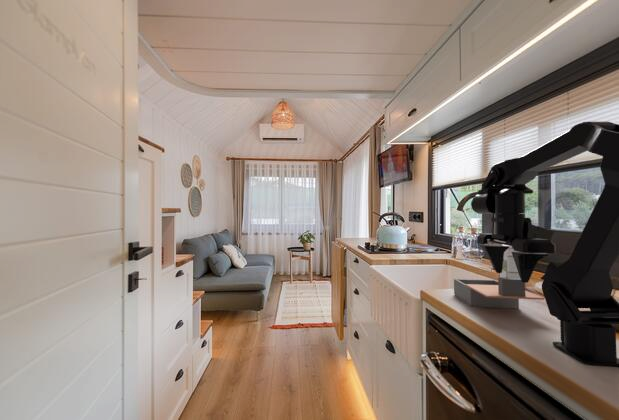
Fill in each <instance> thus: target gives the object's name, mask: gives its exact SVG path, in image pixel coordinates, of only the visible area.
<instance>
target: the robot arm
mask: <svg viewBox="0 0 619 420" xmlns="http://www.w3.org/2000/svg"><path fill="white" fill-rule="evenodd" d="M585 152H588V153H592V154H595V155H598V156H601V157H602V159H601V163H600V165H599V166H600V167H599V168H600V171H601V175H602V178H603V182H604V187H603V188H602V190H601V193H600V195H599V197H598V199H597V201H596V203H595V205H594V207H593V209H592V211H591V213H590V214H589V217H588V219H587V221H586V223H585V225H584V227H583V229H582V231H581V233H580V235H579V237H578V239H577V241H576V244H575V245H574V247H573V250H572V251H571V254H570V255H569V258H568V259H567V260H565V261H549V263H548V264H547V266H546V270H545V273H544V274H543V276H540V280H542V283H541V290H542V294H543V296H544V297H543V298H544V300H545V303H546V306H547V308H548V311H549V314H550V315H551V316H552V317H555V318H557V320H559V323H560V324H559V325H560V327H559V328H560V341H552V345H553V346H554V347H556V348H557V349H560V350H561V351H562V352H564V353H565V354H567V355H570V356H571V357H573V358H575V359H576V360H578V361H580V363H583V364H586V365H597V366H612V367H619V357H617V356H618V355H617V332H616V331H617V328H616V327H614V326H619V301H618V300H616V298H615V297H614V296H613V295H612V293H613V290H614V283H613V279H612V277H611V273H610V271H611V268H612V267H613V265H614V263H615V262H616V260H617V258H618V257H619V123H614V122H612V121H583V122H579V123H577V124H575V125H574V126H572V127H571V128H570V129H569V130H567V131H566V132H564V133H562V134H561V135H558V136H556V137H555V138H553V139H551V140H549V141H548V142H545V144H543V145H542V144H541V146H539V147H536V148H535V149H533V150H531V151H529V152H528V153H525V154H524V155H522V156H519V157H516V158H515V157H514V158H511V159H506V160H503V161H499V162H497V163H495V164H493V166H491V168H490V170H489V172H488V173H487V176H486V178H485V179H484V182H483V183H482V185H481V186H482V187H481V189H479V190H477V194H476V195H475V196H473V198H472V200H471V202H470V207H471V209H472V210H473V212H474V213H475V214H479V215H487V214H488V215H492V214H494V216H495V217H491V218H490V219H491V221H490V222H493V223H494V222H495V228H494V229H495V233H479V234H478V235H477V237H476V241H477V242H476V243H477V244H479V247H481V249H482V250H483V252H484V253H485V255H486V256H487V258H488V260H489V262H490V264H491V265H492V268H493V269H494V270H495V272H496V274H499V273H502V268H503V257H504V252H505V251H506V250H507V249H508V248H509V246H512V248H513V249H514V251H519V252H512V255H513V258H514V261H515V264H516V267H517V270H518V273H519V276H520V279H521V281H522V282H523V283H525V284H527V283H529V282H530V280H531V277H532V274H533V273H534V271H535V268H536V266H537V264H538V263H539V261H540V260H542V259H544V258H546V257H550V256H551V254H556V243H554V242H553V239H554V237H555V233H556V232H555V231H554V230H550V229H548V228H544V227H543V226H542V227H541V226H540V225H539V226H538V225H535V224H532V223H533V221H532V219H531V217H526V201H525V200H526V199H525V198H526V195H530V194H533V193H534V191H533V189H531V188H529V187H527V184H528V183H530V182H531V181H533V180H534V179H536V177H537V175H538V174H539V173H541V172H542V171H544V170H546V169H549V168H551V167H553V166H555V165H558V164H560V163H563V162H565V161H568V160H570V159H572V158H574V157H576V156H579V155H581V154H583V153H585ZM502 244H503V245H502ZM504 245H509V246H504ZM580 309H589V310H588V311H585V310H584V311H581V310H580Z"/></svg>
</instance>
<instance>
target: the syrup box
mask: <svg viewBox="0 0 619 420" xmlns="http://www.w3.org/2000/svg"><path fill="white" fill-rule="evenodd" d="M502 245H503V244H502ZM504 246H509V245H504ZM512 252H519V251H514V249H513V248H512V246H509V248H508V249H507V250H506V251H505V252H504V257H503V268H502V273H498V278H520V276H519V273H518V270H517V267H516V264H515V261H514V258H513V255H512ZM526 285H527V284H525V288H526Z"/></svg>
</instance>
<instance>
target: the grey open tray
mask: <svg viewBox="0 0 619 420" xmlns="http://www.w3.org/2000/svg"><path fill="white" fill-rule="evenodd" d="M466 284H478V285H498V280H496V279H473V278H472V279H468V278H467V279H465V278H453V295H454V294H455V295H456V296H455V295H454V296H455V297H456V298H458V299H459V298H460V300H461V301H462V300H463V302H464V303H466V304H467V305H468V306H469V307H476V308H477V307H480V308H499V309H500V308H501V309H520V299H514V298H489V297H485V296H484V295H482V294H480V293H478V292H476V291H475V290H473V289H471V288H469V287H467V286H466Z"/></svg>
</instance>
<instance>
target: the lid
mask: <svg viewBox="0 0 619 420" xmlns="http://www.w3.org/2000/svg"><path fill="white" fill-rule="evenodd" d="M497 281H498V285H478V284H466V286H467V287H469V288H471V289H473V290H475V291H476V292H478V293H480V294H482V295H484V296H485V297H489V298H514V299H519V300H520V299H521V300H541V301H542V300H543V301H544V300H545V297H542V296H540V295H538V294H535V293H533V292H530V291H528V290H526V287H525V285H526V283H523V282H522V281H521V279H520V278H499V277H498V278H497Z"/></svg>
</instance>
